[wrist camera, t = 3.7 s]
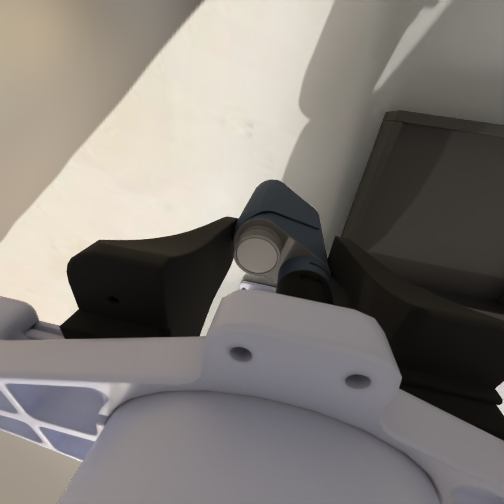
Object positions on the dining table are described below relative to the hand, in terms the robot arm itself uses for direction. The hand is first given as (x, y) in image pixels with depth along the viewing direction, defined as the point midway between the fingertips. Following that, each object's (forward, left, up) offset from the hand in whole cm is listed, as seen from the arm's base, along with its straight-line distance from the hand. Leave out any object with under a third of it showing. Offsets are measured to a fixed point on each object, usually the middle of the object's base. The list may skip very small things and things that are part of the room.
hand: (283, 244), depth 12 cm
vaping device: (0, 0, -6) cm, 6 cm away
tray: (0, -14, -10) cm, 17 cm away
